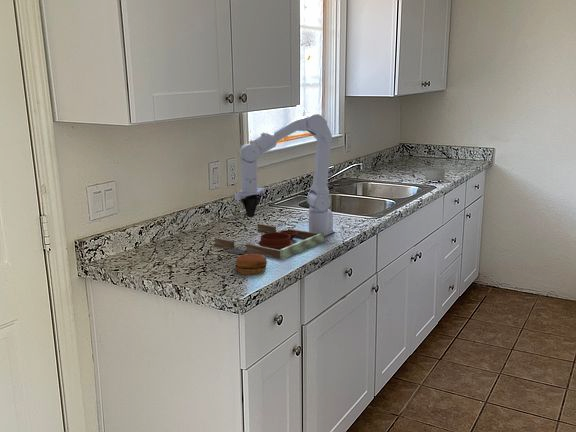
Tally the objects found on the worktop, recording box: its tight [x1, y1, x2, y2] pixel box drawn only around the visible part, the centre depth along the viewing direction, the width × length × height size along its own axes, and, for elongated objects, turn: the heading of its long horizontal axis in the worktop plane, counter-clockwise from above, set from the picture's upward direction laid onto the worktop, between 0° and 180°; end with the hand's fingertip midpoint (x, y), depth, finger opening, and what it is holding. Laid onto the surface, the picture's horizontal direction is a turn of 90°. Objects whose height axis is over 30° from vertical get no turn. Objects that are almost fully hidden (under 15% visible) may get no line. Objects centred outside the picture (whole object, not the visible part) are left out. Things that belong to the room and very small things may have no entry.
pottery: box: [257, 229, 298, 250], centre depth 197 cm, size 12×20×4 cm, turn 156°
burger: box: [234, 252, 268, 276], centre depth 171 cm, size 10×9×5 cm
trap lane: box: [214, 223, 325, 260], centre depth 199 cm, size 25×29×3 cm
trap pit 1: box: [224, 247, 247, 256], centre depth 190 cm, size 4×6×1 cm, turn 55°
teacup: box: [424, 166, 446, 181], centre depth 317 cm, size 14×11×8 cm
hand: (250, 216), depth 203 cm, fingers closed
